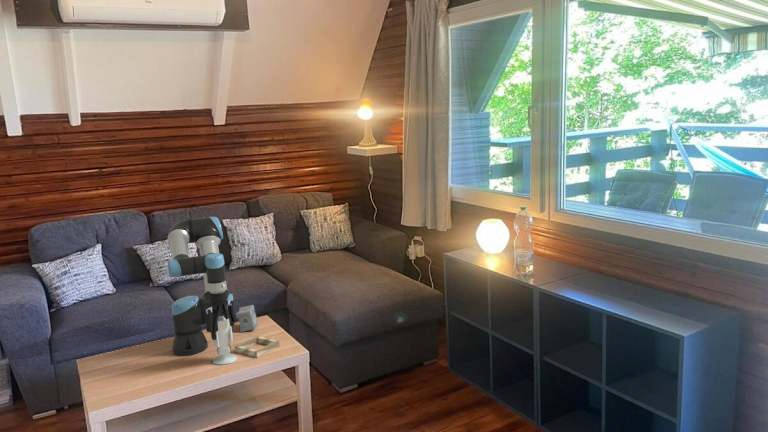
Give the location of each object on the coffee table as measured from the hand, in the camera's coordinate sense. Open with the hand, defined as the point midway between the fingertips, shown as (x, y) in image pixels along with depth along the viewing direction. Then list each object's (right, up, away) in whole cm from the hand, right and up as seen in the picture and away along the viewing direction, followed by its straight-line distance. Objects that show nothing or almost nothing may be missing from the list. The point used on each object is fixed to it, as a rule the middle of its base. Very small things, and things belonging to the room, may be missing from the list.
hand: (223, 343), depth 258 cm
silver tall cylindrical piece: (0, -4, +1) cm, 4 cm away
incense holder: (+2, -1, +37) cm, 37 cm away
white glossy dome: (0, -7, +1) cm, 8 cm away
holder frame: (+12, -5, +11) cm, 17 cm away
